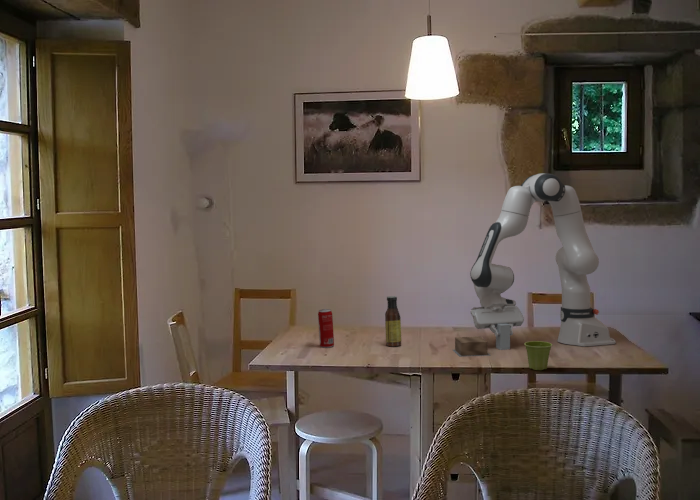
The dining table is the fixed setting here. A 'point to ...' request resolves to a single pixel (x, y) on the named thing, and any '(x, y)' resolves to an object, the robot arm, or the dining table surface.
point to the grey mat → (472, 355)
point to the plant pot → (538, 354)
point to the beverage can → (326, 328)
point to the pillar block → (503, 336)
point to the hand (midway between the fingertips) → (504, 335)
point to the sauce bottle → (392, 323)
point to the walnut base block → (471, 346)
